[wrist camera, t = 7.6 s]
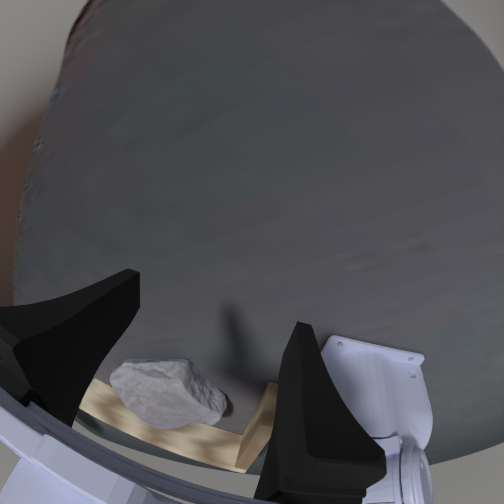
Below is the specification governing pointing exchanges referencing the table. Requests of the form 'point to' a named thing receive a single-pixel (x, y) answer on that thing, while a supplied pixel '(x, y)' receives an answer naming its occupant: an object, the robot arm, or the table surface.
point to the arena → (189, 429)
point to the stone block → (167, 393)
